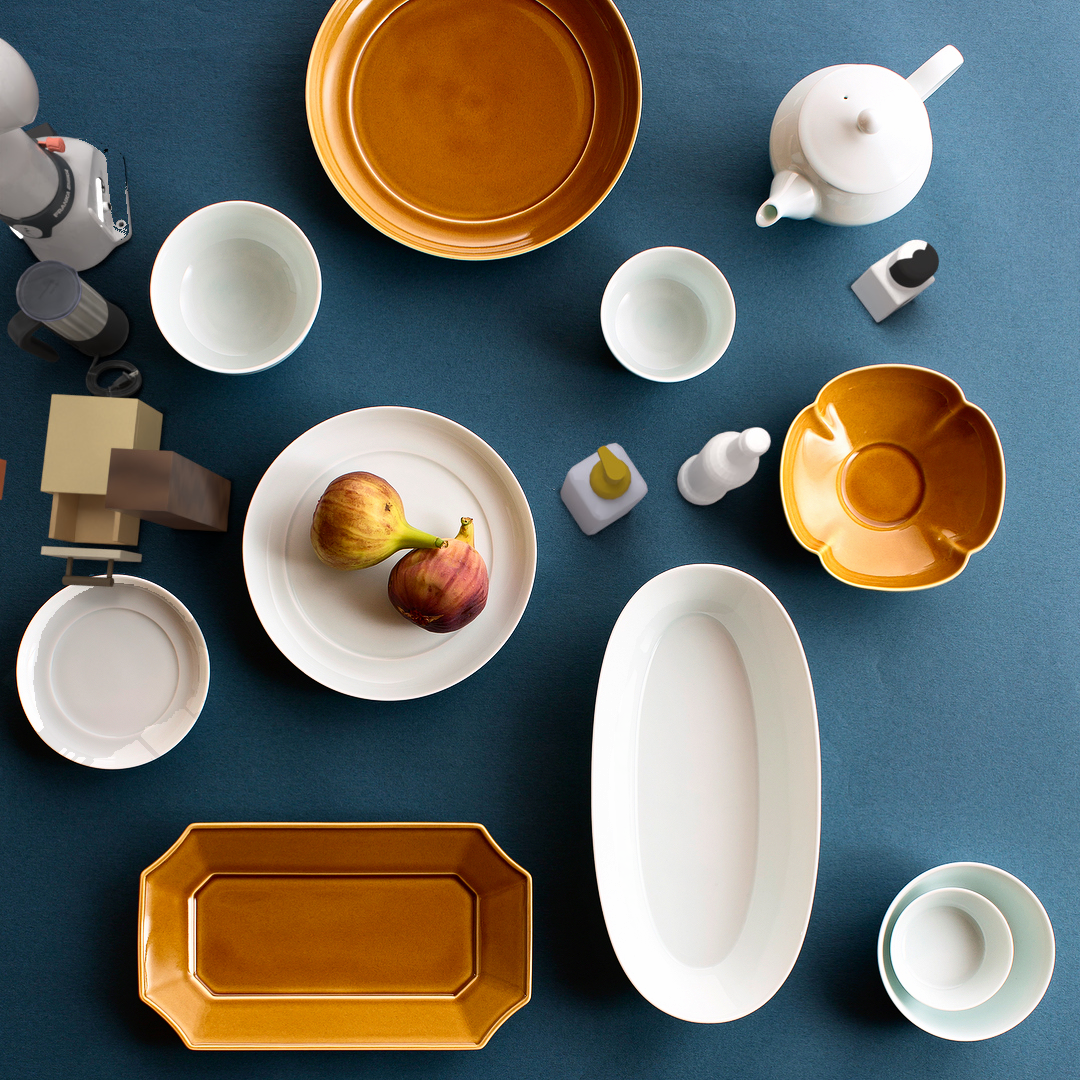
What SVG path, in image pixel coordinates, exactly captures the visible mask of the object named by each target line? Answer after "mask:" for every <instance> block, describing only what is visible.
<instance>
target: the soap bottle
mask: <svg viewBox="0 0 1080 1080" xmlns="http://www.w3.org/2000/svg"><path fill="white" fill-rule="evenodd" d="M648 491H649V490H648V485H647V483H646V481H645V480H644V478H643V477H642V475H641V473H640V471H638V469H637V468H636V466H635V464H634V462H633V461H632V460H631V458H630V457H629V455H628V454H627V452H626V451H625V450H624V448H623V446H621V445H620V444H618V443H617V442H614V443H608V444H606V445H602V446H600V447H599V448H598V449H597V450H596V451H595V452H594V453H592V454H591V455H589V456H588V457H586V458H584V459H583V460H581V461H580V462H578V463H576V464H575V465H573V466H572V467H570V469H569V470H568V472H567V473H566V476H565V479H564V482H563V484H562V487H561V489H560V492H559V494H560V498H561V500H562V502H563V503H564V505H565V506H566V508H567V510H568V511H569V512H570V514H571V516H572V518H573V519H574V521H575V522H576V524H577V525H578V526H579V528H580V530H581V531H582V532H583V533H584V534H585V535H587V536H591V535H596V534H597V533H598V532H600V531H601V530H603V529H605V528H606V527H608V526H609V525H611V524H613V523H614V522H615V521H617V520H619V519H620V518H622V517H623V516H625V515H627V514H628V513H629V512H630V511H631V510H633V508H634V507H635V506H636V505H637V504H638V503H639V502H640V501H642V499H643V498H645V496H646V494H647V493H648Z"/></svg>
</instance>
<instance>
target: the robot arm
mask: <svg viewBox="0 0 1080 1080" xmlns="http://www.w3.org/2000/svg"><path fill="white" fill-rule="evenodd" d="M39 106H40V94H39V88H38V84H37V81H36V78H35V75H34V73H33V71H32V70H31V67H30V66H29V64H28V63H27V61H26V60H25V59H24V58H23V55H21V54H20V53H19V52H18V51H17V50H16V49H15V48H14V47H13V46H12V45H11V44H9V42H7V41H6V40H5V39H3V38H1V37H0V220H1V221H2V222H3V223H4V224H5V225H7V226H8V227H9V228H10V229H11V231H12V232H13V233H14V234H15V235H16V236H17V237H18V238H19V239H22V240H23V241H24V242H25V243H26V244H27V246H28V247H29V249H30V250H31V251H32V253H33V255H34V256H35V257H36V258H37V259H38V260H39V262H42V261H48V260H54V261H60V262H63V263H65V264H67V265H69V266H70V267H72V268H74V269H75V270H76V271H77V272H82V271H85V270H88V269H91V268H93V267H95V266H96V265H99V263H101V262H103V260H105V259H106V258H107V257H108V256H109V254H110V253H111V252H112V251H113V250H114V249H115V248H116V247H119V246H120V245H123V244H124V243H126V242H127V241H129V240H130V239H131V237H132V235H133V229H132V219H131V208H130V199H129V189H128V185H127V186H126V187H127V189H126V190H125V194H126V204H127V214H128V224H129V233H128V235H127V236H126V234H125V233H126V232H125V233H123V232H124V231H123V230H125V228H124V227H125V226H126V225H127V224H126V222H125V221H124V220H122V219H121V220H118V221H117V222H116V225H115V224H114V222H113V218H112V214H111V213H112V212H111V210H112V206H111V203H110V194H109V185H108V173H107V162H106V160H107V159H106V157H105V155H104V154H103V153H102V152H101V151H100V150H98V149H97V148H96V147H94V146H93V145H91V144H89V143H87V142H85V141H82V140H79V139H80V138H74V137H70V136H60V135H59V134H58V132H57V131H56V130H55V129H54V128H53V127H52V126H51V125H50V124H49V122H47V121H46V122H44V123H42V124H39V125H37V126H35V127H32V128H30V129H28V130H26V131H24V130H23V129H22V128H23V127H25V126H27V125H30V124H32V123H34V121H35V119H36V116H37V114H38V111H39ZM125 183H126V182H125ZM126 187H125V188H126ZM127 190H128V191H127ZM122 225H123V226H122ZM113 226H115V227H117V228H118V229H122V230H121V231H123V232H122V233H121V231H120V232H119V230H118V231H117V229H116V230H115V228H114V227H113ZM123 228H124V229H123ZM125 231H127V229H126V230H125ZM124 234H125V235H124ZM125 236H126V237H125ZM124 237H125V238H124ZM121 239H122V240H121Z"/></svg>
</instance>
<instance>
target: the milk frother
mask: <svg viewBox="0 0 1080 1080" xmlns="http://www.w3.org/2000/svg"><path fill="white" fill-rule="evenodd" d="M16 284H17V285H16V289H15V296H16V301H17V304H18V306H19V308H20V310H19V311H18V312H17V313H15V314H14V316H12V318H11V319H10V320H9V321H8V324H7V335H8V336H9V337H10V339H11V340H12V341H13V342H14V344H15V345H16V346H17V347H18V348H19V349H21V350H23V351H25V352H27V353H28V354H30V355H33V356H36V357H38V358H40V359H42V360H44V361H46V362H49V363H52V364H53V363H56V362H59V360H60V355H59V352H58V351H57V350H56V349H55V348H54V347H53V346H52V345H50V344H48V343H47V342H45V341H43V340H42V339H39V338H38V337H36V336H34V334H35V333H36V332H37V331H38V330H39V329H41V328H42V327H43V328H44V329H46V330H48V331H49V332H51V333H53V334H54V335H55V336H57V337H58V338H59V339H61V340H63V341H64V342H66V343H67V344H69V345H70V346H71V347H73V348H75V349H77V350H79V351H80V352H81V353H83V354H84V355H87V356H89V357H93V361H92V363H91V365H90V367H89V369H88V371H87V373H86V376H85V385H86V388H87V389H88V391H89V392H90V393H91V394H92V395H94V396H95V397H111V398H129V397H130V396H132V395H134V394H135V393H136V392H137V391H139V390H140V388H141V386H142V383H143V377H142V374H141V372H140V371H139V369H138V368H137V367H136V366H135V365H134V364H132V363H131V362H129V361H127V360H120V359H112V360H106V361H103V362H101V363H98V364H97V362H98V361H99V359H100V358H102V357H103V358H104V357H107V356H110V355H112V354H114V353H116V352H118V351H119V350H120V349H121V348H122V347H123V346H124V344H125V343H126V341H127V340H128V337H129V332H130V324H129V321H128V318H127V315H126V314H125V312H124V311H123V310H122V308H120V307H118V306H117V305H115V304H113V303H111V302H110V301H108V300H107V299H106V298H105V297H103V296H102V295H101V294H100V293H99V292H97V291H96V290H95V289H94V288H93V287H91V286H90V285H89V284H88V283H87V282H86V281H84V280H83V278H81V277H80V276H79V274H78V271H76V270H75V269H74V268H72V267H70V266H69V265H67V264H65V263H63V262H60V261H54V260H48V261H42V262H41V261H38V262H36V263H34V264H32V265H31V266H30V267H28V268H26V269H25V271H24V272H23V273H22V274H21V275H20V277H19V279H18V282H17V283H16ZM109 369H123V370H126V371H128V372H130V373H127V372H125V371H122V375H120V376H119V377H118V378H117V379H116V380H115V381H113V383H112V384H111V385H110V386H107V388H103V387H102V386H99V385H98V383H97V380H98V377H99V375H100V374H102V372H104V371H106V370H109Z"/></svg>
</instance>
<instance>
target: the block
mask: <svg viewBox="0 0 1080 1080" xmlns="http://www.w3.org/2000/svg"><path fill="white" fill-rule="evenodd" d="M6 468H7V460H5V459H2V458H0V501H1V500H3V494H4V493H3V492H4V485H5V476H6Z"/></svg>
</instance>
